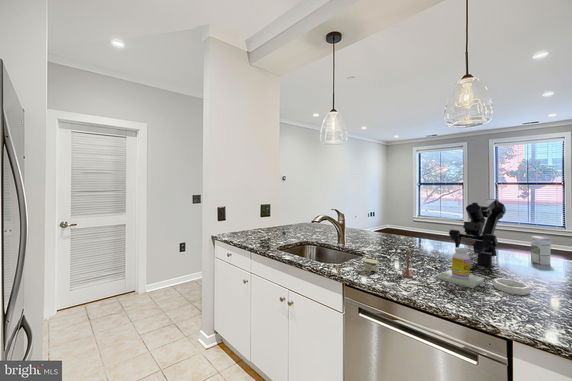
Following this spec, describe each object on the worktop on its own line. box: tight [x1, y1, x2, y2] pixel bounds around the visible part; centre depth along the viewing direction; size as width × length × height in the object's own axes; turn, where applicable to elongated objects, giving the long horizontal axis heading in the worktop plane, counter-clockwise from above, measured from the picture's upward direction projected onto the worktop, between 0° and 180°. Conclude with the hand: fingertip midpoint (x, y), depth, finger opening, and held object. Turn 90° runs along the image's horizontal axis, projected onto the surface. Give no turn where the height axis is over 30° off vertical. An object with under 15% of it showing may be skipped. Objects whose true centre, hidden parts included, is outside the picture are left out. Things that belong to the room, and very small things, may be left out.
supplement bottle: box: [451, 246, 471, 279], centre depth 118 cm, size 7×7×13 cm
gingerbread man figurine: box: [402, 249, 414, 280], centre depth 123 cm, size 9×4×12 cm, turn 159°
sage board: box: [436, 269, 485, 289], centre depth 118 cm, size 14×14×1 cm
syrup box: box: [530, 235, 552, 266], centre depth 143 cm, size 6×6×14 cm
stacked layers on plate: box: [363, 258, 379, 273], centre depth 128 cm, size 10×9×6 cm
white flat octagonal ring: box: [492, 277, 531, 296], centre depth 107 cm, size 11×11×2 cm
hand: (467, 251), depth 122 cm, fingers open, 9 cm apart
